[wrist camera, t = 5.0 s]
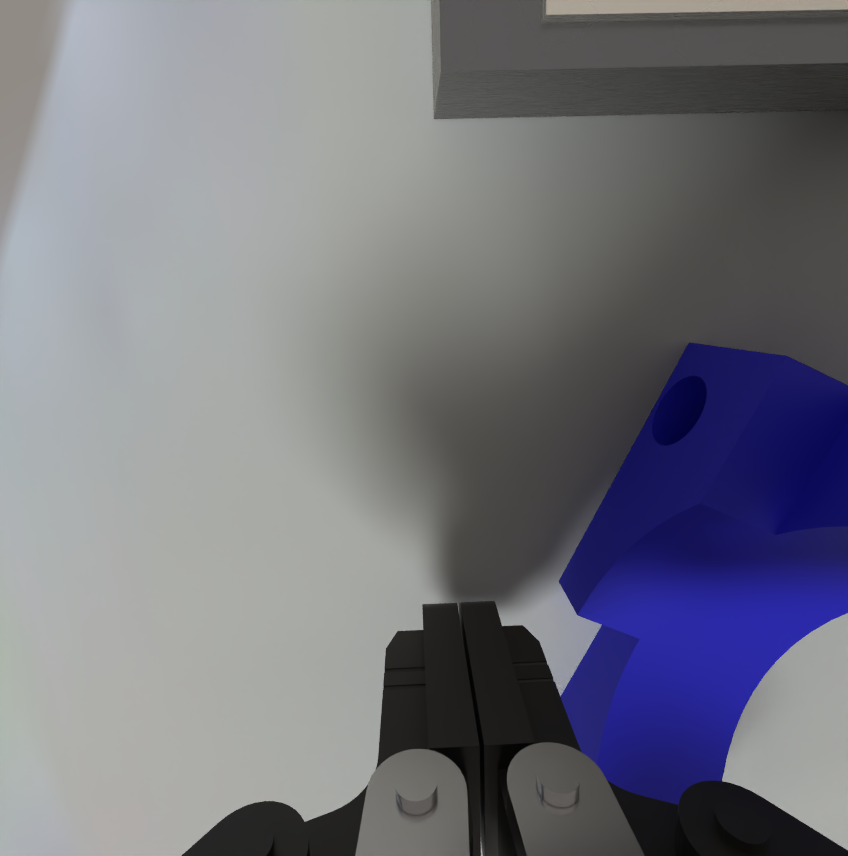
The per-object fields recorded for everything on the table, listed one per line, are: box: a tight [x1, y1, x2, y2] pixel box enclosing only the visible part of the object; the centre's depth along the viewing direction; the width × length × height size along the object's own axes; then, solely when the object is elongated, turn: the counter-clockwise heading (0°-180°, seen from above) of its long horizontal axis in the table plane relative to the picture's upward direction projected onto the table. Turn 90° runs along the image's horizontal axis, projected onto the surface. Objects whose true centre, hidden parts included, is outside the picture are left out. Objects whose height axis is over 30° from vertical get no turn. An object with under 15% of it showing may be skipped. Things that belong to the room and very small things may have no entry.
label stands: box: [431, 0, 848, 119], centre depth 11 cm, size 10×28×2 cm, turn 2°
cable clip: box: [559, 343, 848, 805], centre depth 9 cm, size 12×4×6 cm, turn 156°
